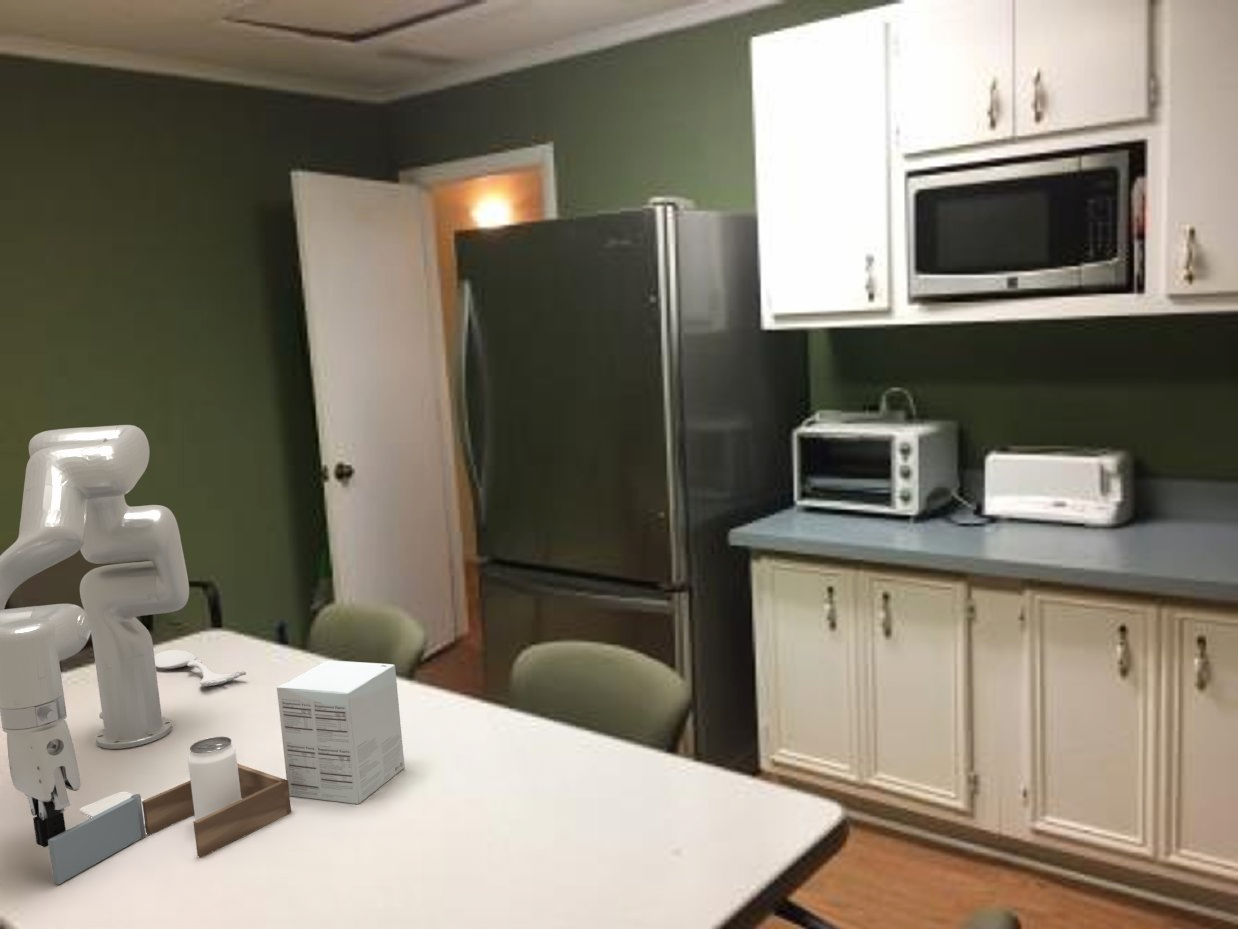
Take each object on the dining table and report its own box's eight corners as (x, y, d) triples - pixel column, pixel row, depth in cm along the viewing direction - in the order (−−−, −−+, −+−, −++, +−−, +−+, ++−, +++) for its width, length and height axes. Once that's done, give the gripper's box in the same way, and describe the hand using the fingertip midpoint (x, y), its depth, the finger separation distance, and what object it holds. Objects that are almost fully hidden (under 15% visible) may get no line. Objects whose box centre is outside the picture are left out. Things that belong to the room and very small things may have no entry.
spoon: (206, 698, 204) (204, 681, 204) (144, 667, 227) (142, 652, 226) (249, 684, 211) (247, 668, 210) (184, 656, 233) (182, 641, 233)
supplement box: (337, 760, 169) (326, 658, 167) (406, 768, 165) (396, 663, 163) (285, 796, 157) (274, 687, 155) (359, 805, 153) (348, 692, 150)
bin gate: (141, 834, 147) (136, 793, 146) (147, 835, 147) (142, 794, 146) (53, 883, 135) (47, 839, 134) (59, 885, 134) (53, 840, 133)
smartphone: (123, 790, 162) (174, 812, 153) (124, 795, 162) (175, 816, 153) (76, 809, 156) (126, 833, 147) (77, 814, 156) (127, 838, 147)
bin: (146, 834, 147) (141, 801, 147) (236, 792, 159) (232, 762, 159) (200, 857, 140) (196, 823, 139) (291, 812, 151) (288, 780, 151)
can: (227, 834, 146) (218, 754, 144) (186, 832, 147) (177, 753, 146) (252, 812, 152) (243, 735, 151) (212, 811, 153) (203, 735, 152)
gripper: (90, 712, 135) (107, 843, 138) (35, 694, 144) (53, 817, 146) (31, 732, 129) (50, 869, 132) (-23, 712, 138) (-3, 840, 140)
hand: (51, 841), depth 139 cm, fingers closed
